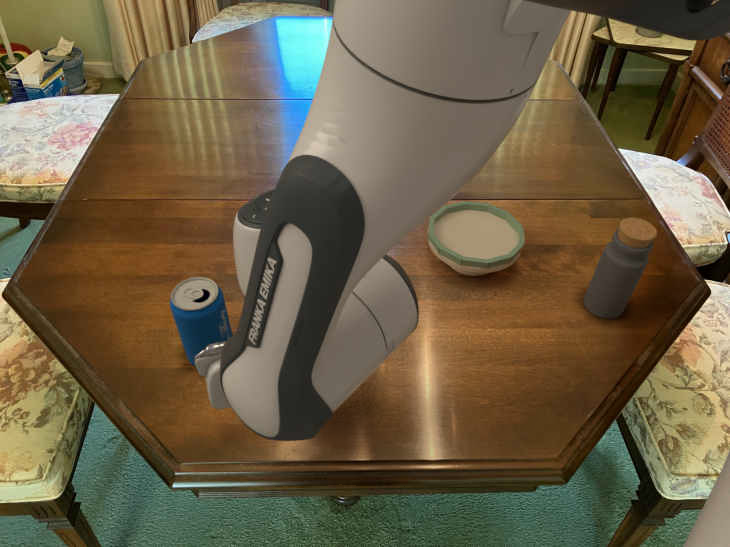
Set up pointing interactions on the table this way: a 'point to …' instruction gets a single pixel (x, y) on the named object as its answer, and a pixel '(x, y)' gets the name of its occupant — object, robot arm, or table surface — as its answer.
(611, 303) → the bottle
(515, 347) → the table surface
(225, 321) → the beverage can
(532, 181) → the table surface
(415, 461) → the table surface
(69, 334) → the table surface
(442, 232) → the bowl
